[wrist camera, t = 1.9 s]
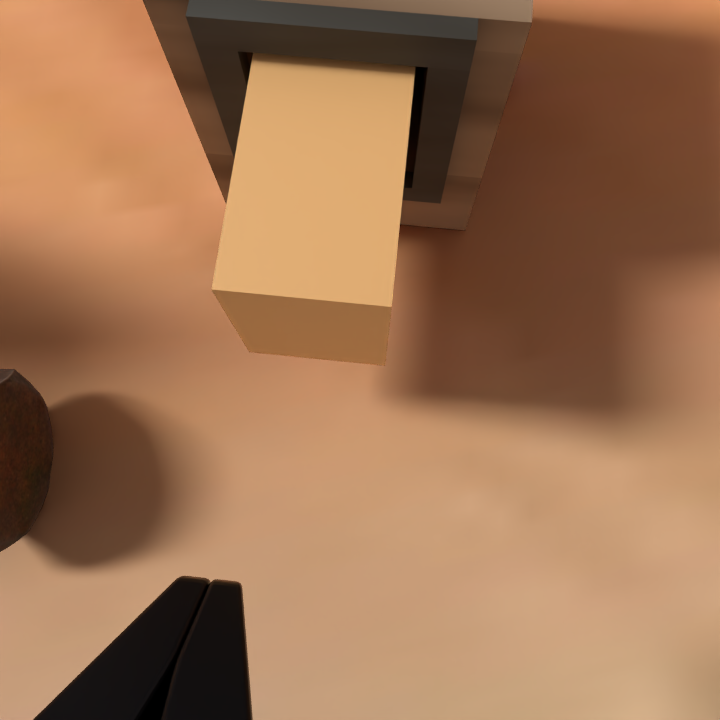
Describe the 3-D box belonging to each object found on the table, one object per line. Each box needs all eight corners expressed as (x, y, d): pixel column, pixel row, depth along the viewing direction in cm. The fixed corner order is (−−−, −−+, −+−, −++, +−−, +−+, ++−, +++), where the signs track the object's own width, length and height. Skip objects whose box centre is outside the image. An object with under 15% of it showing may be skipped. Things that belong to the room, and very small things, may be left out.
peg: (385, 365, 19) (391, 307, 15) (249, 351, 19) (211, 289, 15) (412, 88, 22) (426, -40, 17) (292, 78, 22) (271, -53, 17)
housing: (464, 245, 25) (531, 45, 15) (225, 222, 25) (133, 11, 15) (480, 11, 27) (545, -290, 18) (265, -6, 28) (210, -312, 18)
